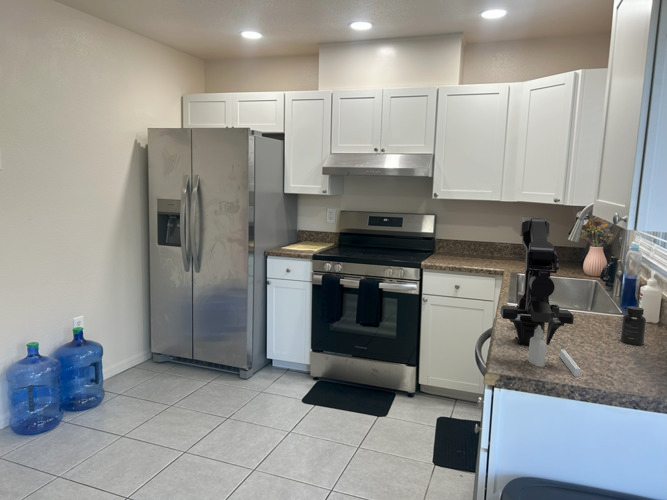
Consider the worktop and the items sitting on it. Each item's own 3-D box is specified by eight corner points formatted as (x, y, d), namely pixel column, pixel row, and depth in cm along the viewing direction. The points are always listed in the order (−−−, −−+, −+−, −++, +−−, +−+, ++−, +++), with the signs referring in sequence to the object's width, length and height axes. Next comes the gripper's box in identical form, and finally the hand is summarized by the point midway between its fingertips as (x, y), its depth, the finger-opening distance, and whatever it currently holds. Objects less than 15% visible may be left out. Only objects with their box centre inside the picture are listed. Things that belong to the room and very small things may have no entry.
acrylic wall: (559, 359, 147) (560, 349, 147) (563, 359, 147) (564, 349, 147) (574, 379, 132) (575, 368, 131) (579, 379, 131) (580, 368, 131)
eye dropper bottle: (543, 363, 143) (547, 323, 141) (544, 370, 138) (548, 328, 136) (527, 361, 144) (531, 322, 143) (527, 367, 139) (531, 326, 138)
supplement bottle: (622, 338, 171) (625, 304, 169) (645, 342, 166) (649, 307, 165) (618, 342, 165) (622, 307, 164) (642, 347, 161) (646, 311, 159)
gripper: (507, 293, 132) (503, 349, 134) (581, 298, 129) (576, 356, 131) (502, 285, 143) (498, 337, 145) (570, 290, 140) (565, 343, 142)
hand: (533, 343), depth 140 cm, fingers open, 7 cm apart
